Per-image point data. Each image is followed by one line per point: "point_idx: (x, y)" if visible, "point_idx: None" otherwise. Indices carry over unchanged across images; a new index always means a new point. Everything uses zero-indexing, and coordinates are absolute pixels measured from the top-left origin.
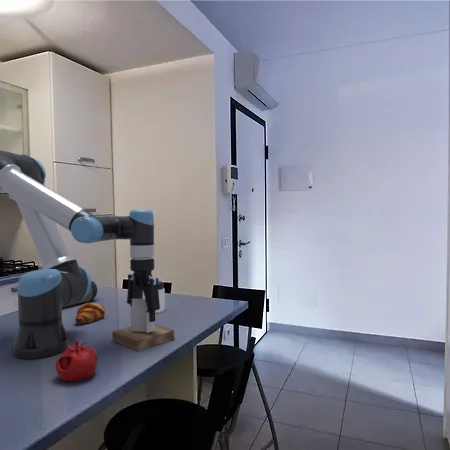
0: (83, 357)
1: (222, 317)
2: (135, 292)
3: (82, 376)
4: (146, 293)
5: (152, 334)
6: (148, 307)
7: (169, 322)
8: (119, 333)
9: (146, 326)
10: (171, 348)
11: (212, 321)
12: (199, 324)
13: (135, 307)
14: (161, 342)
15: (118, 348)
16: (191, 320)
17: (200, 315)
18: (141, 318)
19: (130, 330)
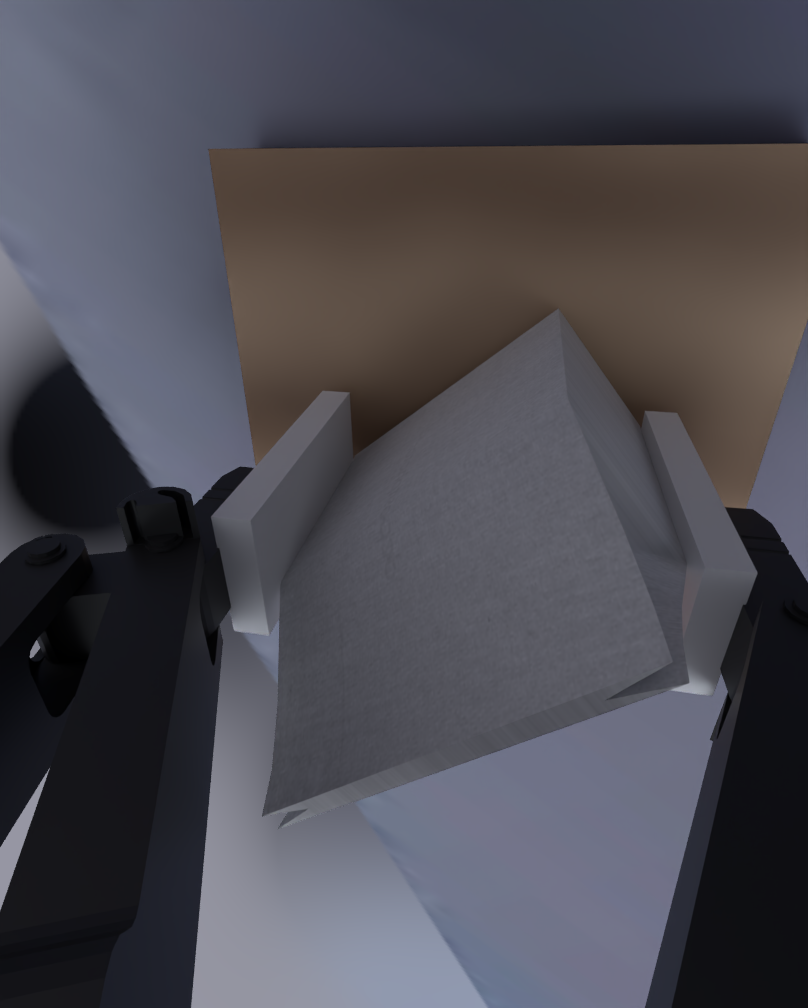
0: None
1: (453, 950)
2: (687, 916)
3: None
4: (28, 844)
5: None
6: (148, 569)
7: (687, 798)
8: (657, 158)
9: (325, 419)
10: (141, 415)
11: (438, 891)
12: (454, 833)
13: (520, 526)
14: None
15: (481, 23)
16: (571, 871)
17: (604, 949)
18: (416, 463)
19: (628, 349)
